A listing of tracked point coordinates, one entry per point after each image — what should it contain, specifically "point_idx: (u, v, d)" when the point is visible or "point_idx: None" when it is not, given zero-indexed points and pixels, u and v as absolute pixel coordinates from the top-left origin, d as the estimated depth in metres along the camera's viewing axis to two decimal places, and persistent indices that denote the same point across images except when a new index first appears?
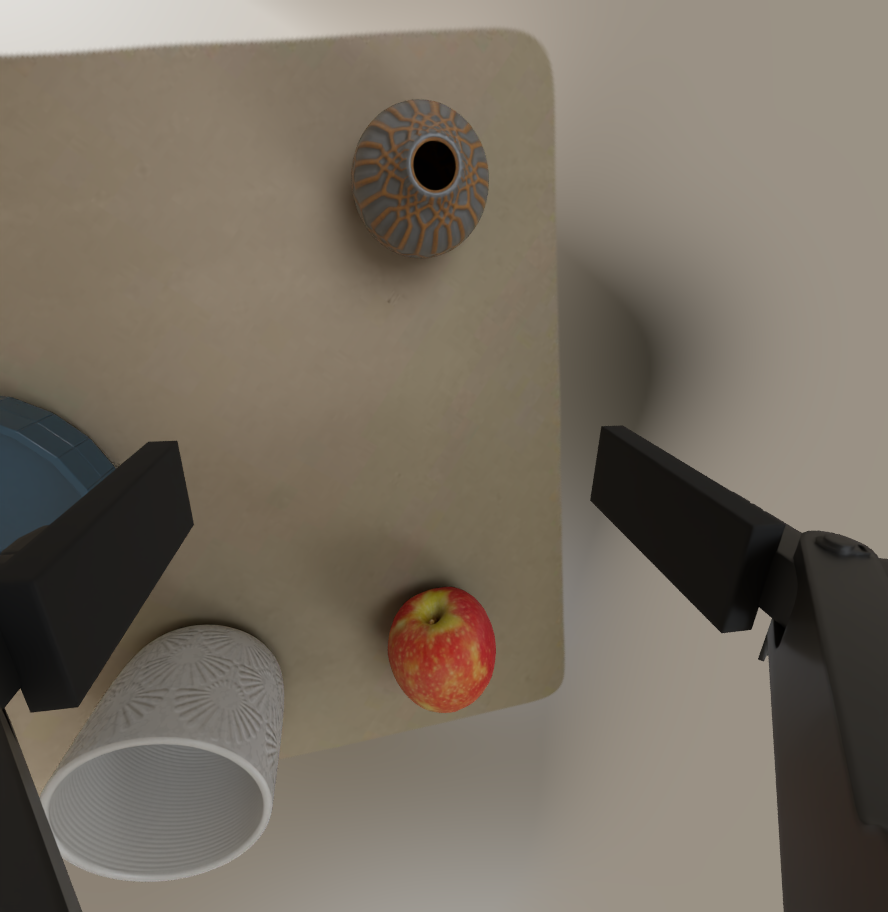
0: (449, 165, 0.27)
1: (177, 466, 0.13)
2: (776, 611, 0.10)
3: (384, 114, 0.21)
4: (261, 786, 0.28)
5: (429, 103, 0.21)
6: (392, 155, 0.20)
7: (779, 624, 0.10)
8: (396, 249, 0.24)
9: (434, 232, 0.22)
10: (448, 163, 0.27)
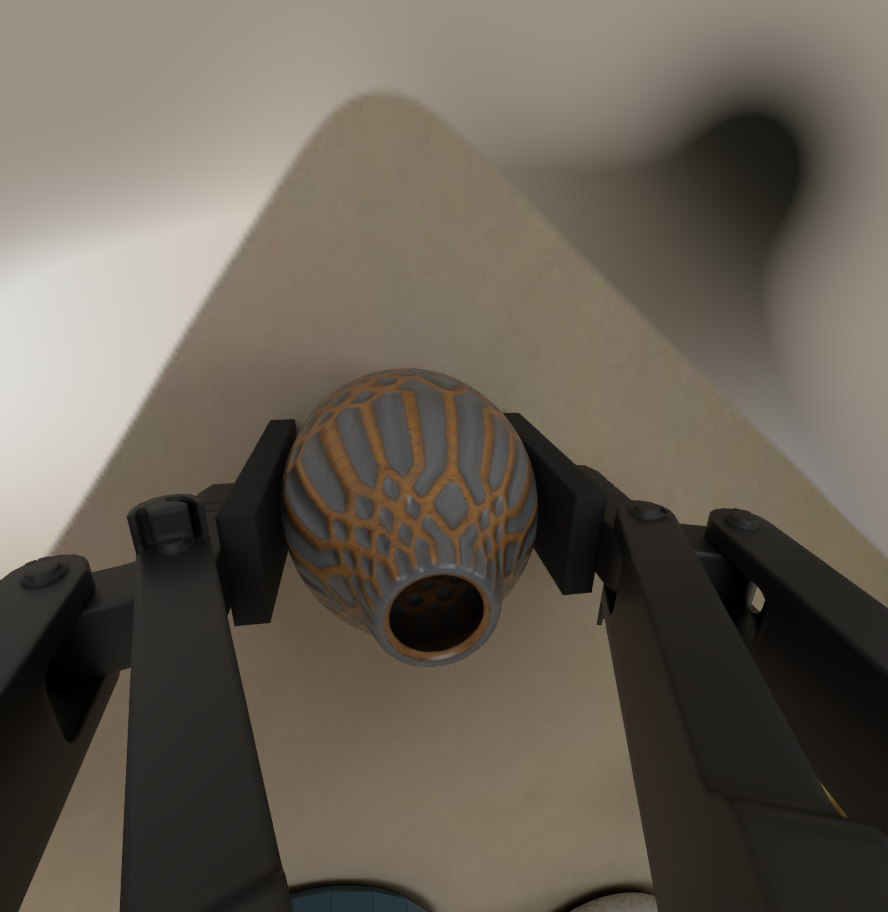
0: None
1: None
2: (606, 579, 0.11)
3: (288, 526, 0.11)
4: None
5: (329, 463, 0.10)
6: (356, 617, 0.10)
7: (610, 590, 0.11)
8: (457, 601, 0.14)
9: None
10: None
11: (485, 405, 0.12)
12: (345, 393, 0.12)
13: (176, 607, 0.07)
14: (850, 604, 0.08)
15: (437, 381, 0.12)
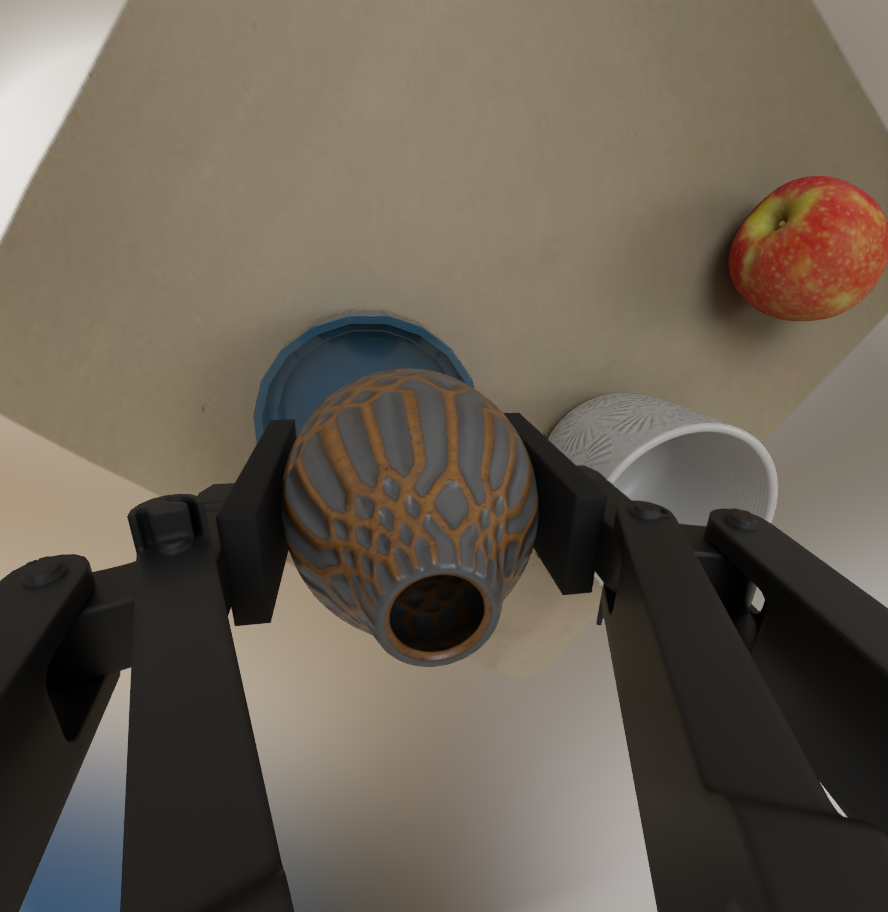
0: None
1: None
2: (606, 579, 0.11)
3: (288, 526, 0.11)
4: (753, 442, 0.27)
5: (330, 463, 0.10)
6: (357, 617, 0.10)
7: (609, 590, 0.11)
8: (457, 601, 0.14)
9: None
10: None
11: (485, 405, 0.12)
12: (345, 393, 0.12)
13: (176, 607, 0.07)
14: (850, 603, 0.08)
15: (437, 381, 0.12)
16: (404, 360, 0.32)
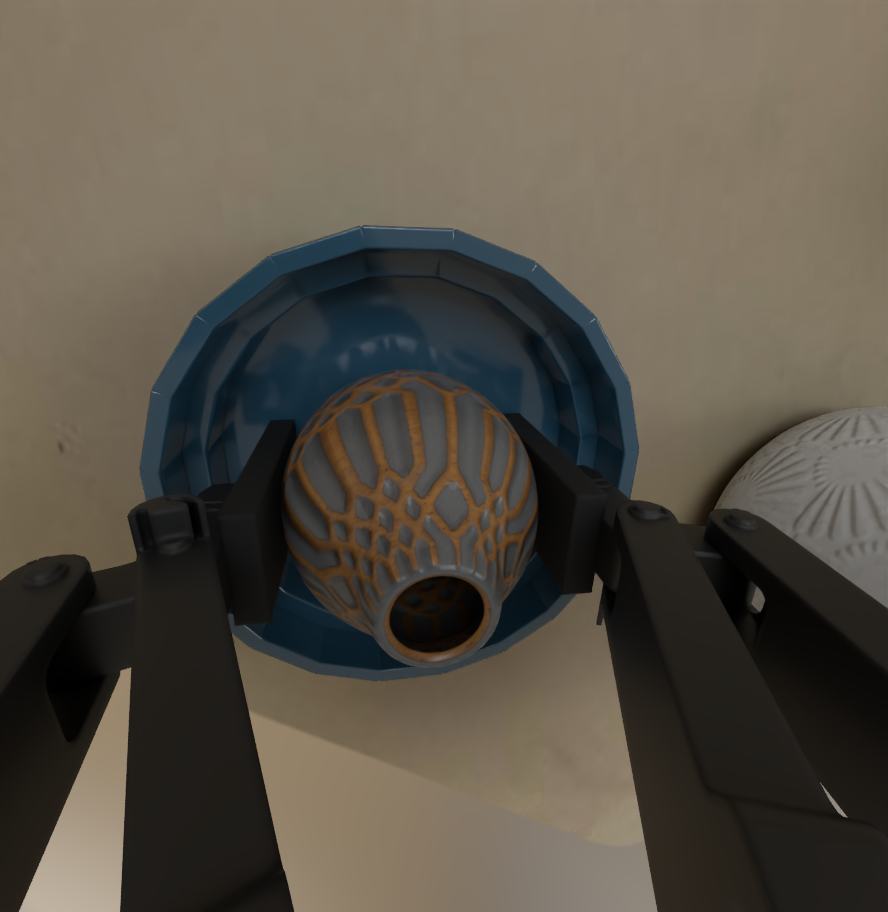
0: None
1: None
2: (606, 579, 0.11)
3: (288, 527, 0.11)
4: None
5: (330, 464, 0.10)
6: (357, 618, 0.10)
7: (609, 590, 0.11)
8: (457, 602, 0.14)
9: None
10: None
11: (485, 406, 0.12)
12: (345, 394, 0.12)
13: (177, 607, 0.07)
14: (850, 604, 0.08)
15: (437, 382, 0.12)
16: (470, 345, 0.16)
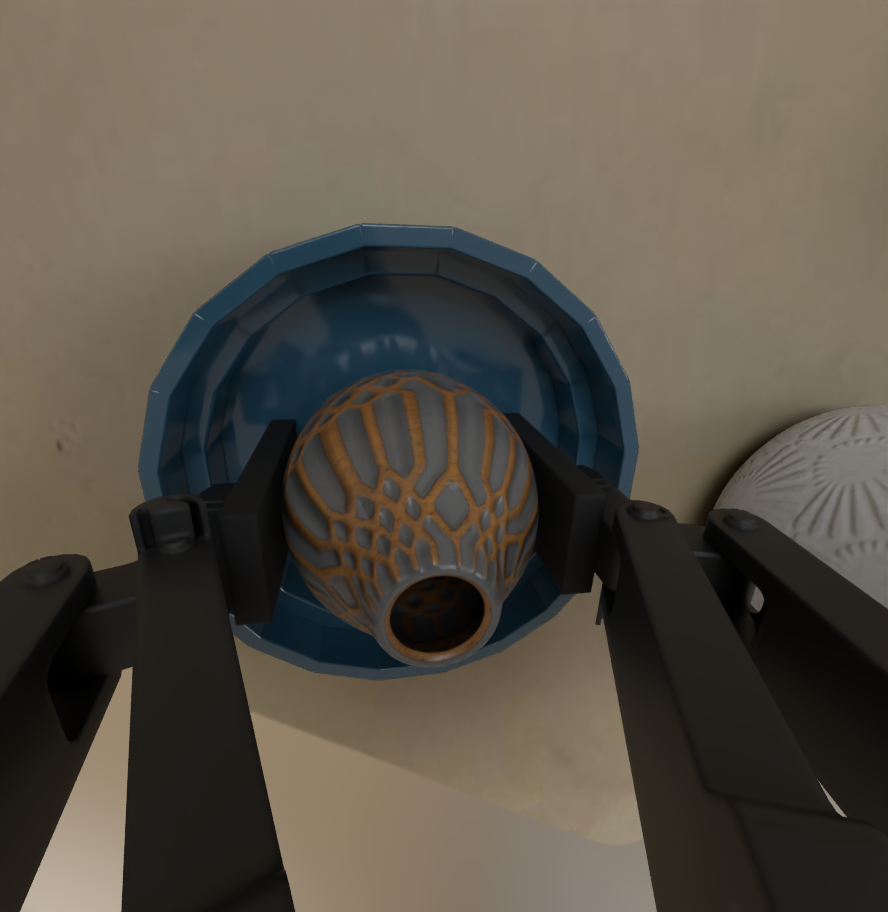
0: None
1: None
2: (605, 579, 0.11)
3: (289, 527, 0.11)
4: None
5: (330, 464, 0.10)
6: (357, 618, 0.10)
7: (608, 590, 0.11)
8: (457, 602, 0.14)
9: None
10: None
11: (486, 406, 0.12)
12: (346, 394, 0.12)
13: (178, 606, 0.07)
14: (848, 603, 0.08)
15: (438, 382, 0.12)
16: (470, 343, 0.16)
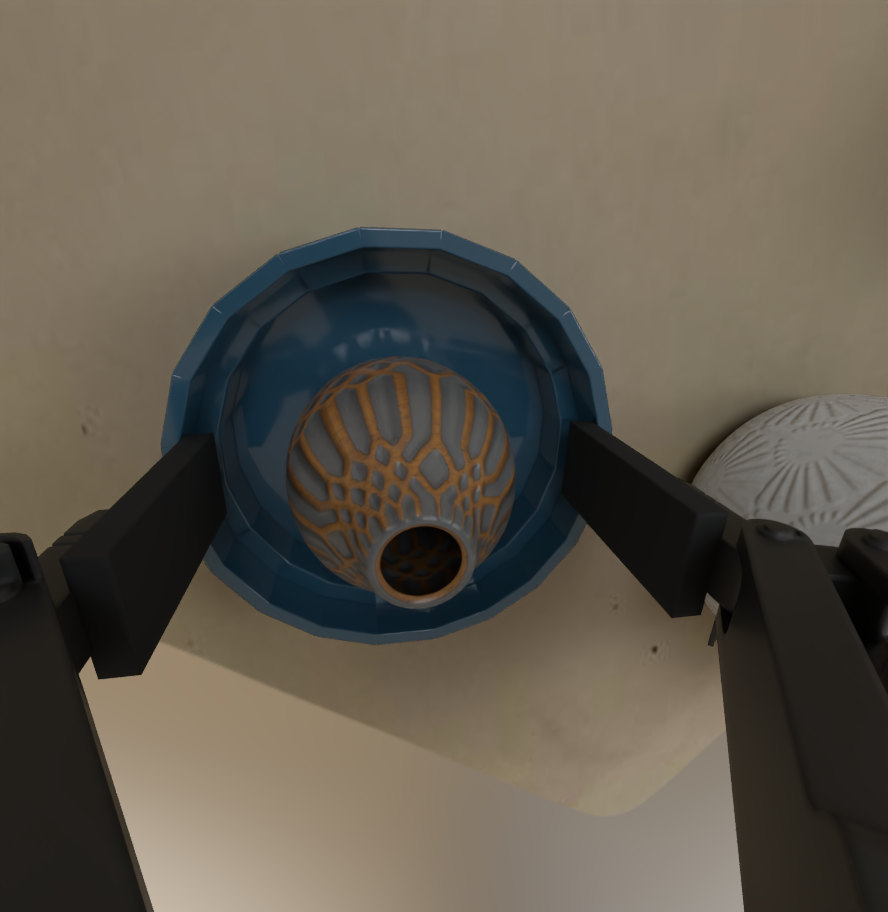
0: None
1: (214, 457, 0.14)
2: (723, 598, 0.10)
3: (292, 493, 0.12)
4: None
5: (329, 435, 0.12)
6: (352, 569, 0.11)
7: (726, 610, 0.10)
8: None
9: (482, 560, 0.13)
10: None
11: (468, 387, 0.13)
12: (343, 377, 0.13)
13: (2, 668, 0.06)
14: None
15: (425, 366, 0.13)
16: (460, 336, 0.17)
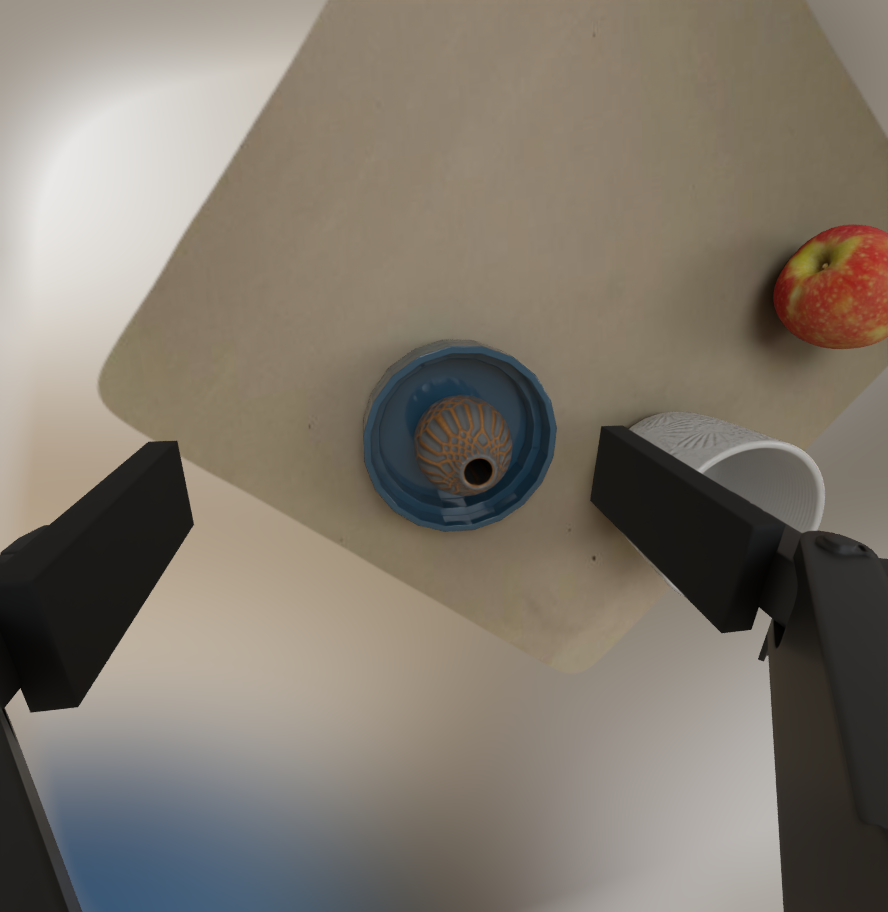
0: None
1: (177, 466, 0.13)
2: (776, 611, 0.10)
3: (423, 451, 0.31)
4: (804, 457, 0.31)
5: (441, 427, 0.30)
6: (450, 478, 0.30)
7: (780, 624, 0.10)
8: None
9: (498, 479, 0.32)
10: None
11: (492, 409, 0.32)
12: (441, 404, 0.32)
13: None
14: None
15: (475, 400, 0.32)
16: (486, 383, 0.36)
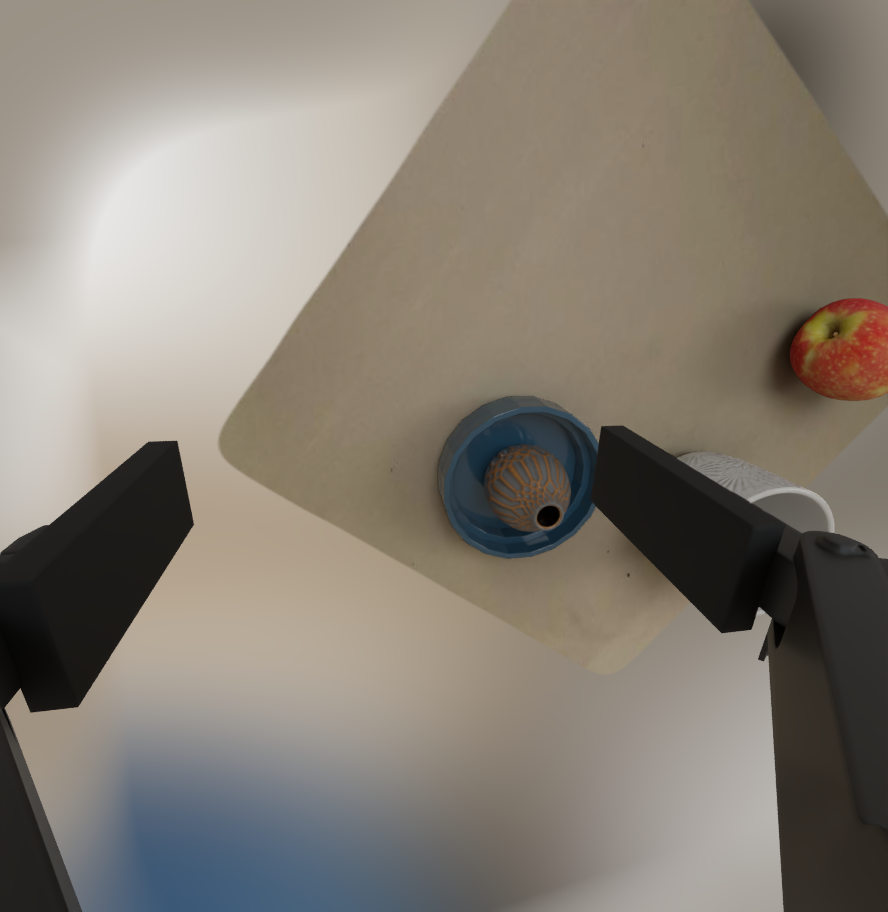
0: None
1: (177, 466, 0.13)
2: (776, 611, 0.10)
3: (498, 496, 0.37)
4: (818, 499, 0.37)
5: (514, 477, 0.36)
6: (523, 520, 0.36)
7: (779, 624, 0.10)
8: (541, 524, 0.40)
9: None
10: None
11: (554, 459, 0.38)
12: (511, 455, 0.38)
13: None
14: None
15: (539, 451, 0.38)
16: (543, 431, 0.42)
